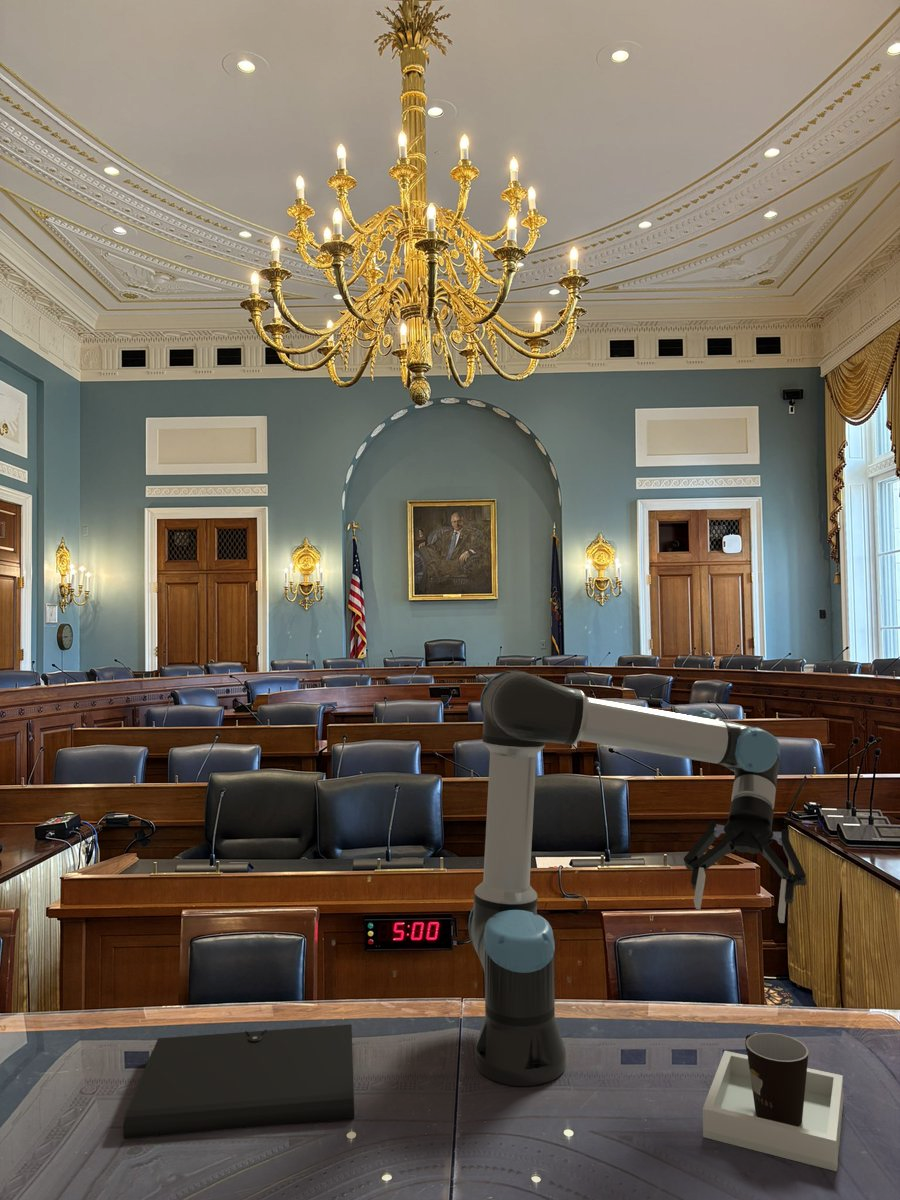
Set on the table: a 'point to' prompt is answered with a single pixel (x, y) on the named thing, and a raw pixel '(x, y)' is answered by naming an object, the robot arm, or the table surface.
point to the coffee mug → (777, 1076)
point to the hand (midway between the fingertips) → (737, 912)
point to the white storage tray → (738, 1124)
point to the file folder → (244, 1081)
